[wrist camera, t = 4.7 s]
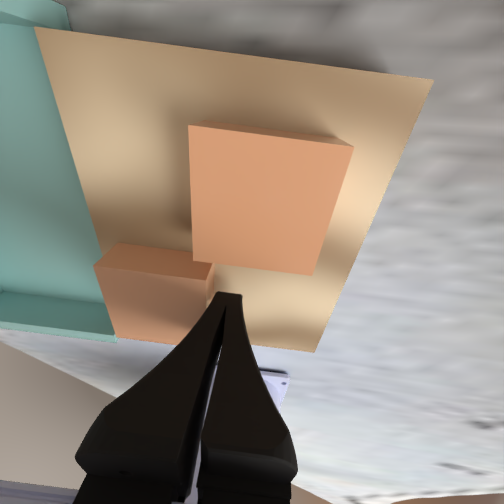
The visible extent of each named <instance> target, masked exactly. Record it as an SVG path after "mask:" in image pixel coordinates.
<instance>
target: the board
mask: <svg viewBox="0 0 504 504" xmlns="http://www.w3.org/2000/svg"><path fill="white" fill-rule="evenodd" d="M34 29H35V33H36V36H37V39H38V43H39V46H40V49H41V53H42V56H43V59H44V63H45V66H46V69H47V73H48V76H49V79H50V83H51V86H52V89H53V93H54V96H55V99H56V103H57V106H58V109H59V113H60V116H61V119H62V123H63V126H64V129H65V133H66V136H67V139H68V143H69V146H70V149H71V153H72V156H73V159H74V163H75V166H76V169H77V173H78V176H79V179H80V183H81V186H82V189H83V193H84V196H85V199H86V203H87V206H88V209H89V213H90V216H91V219H92V223H93V226H94V229H95V233H96V236H97V239H98V242H99V246H100V249H101V252H102V256H104V255H105V254H106V253H107V252H108V251H109V250H110V249H111V248H112V247H114V246H115V245H116V244H117V243H126V244H133V245H141V246H148V247H156V248H164V249H171V250H179V251H186V252H193V242H192V215H191V188H190V161H189V134H188V125H190V124H193V123H196V122H200V121H203V120H207V121H215V122H222V123H230V124H237V125H245V126H252V127H260V128H268V129H275V130H283V131H290V132H298V133H305V134H313V135H320V136H328V137H336V138H339V139H341V140H343V141H345V142H347V143H348V144H350V145H352V146H354V150H353V153H352V156H351V159H350V163H349V166H348V169H347V172H346V175H345V178H344V181H343V184H342V187H341V190H340V193H339V196H338V199H337V202H336V205H335V208H334V211H333V214H332V217H331V220H330V223H329V226H328V229H327V232H326V235H325V239H324V242H323V245H322V248H321V251H320V254H319V257H318V260H317V263H316V266H315V269H314V272H313V275H312V276H308V275H300V274H293V273H285V272H277V271H269V270H262V269H254V268H246V267H238V266H231V265H223V264H215V275H214V295H215V293H216V292H218V291H220V292H228V293H235V294H241V295H242V296H243V298H242V304H243V314H244V320H245V325H246V329H247V333H248V337H249V341H250V344H251V345H258V346H266V347H274V348H282V349H290V350H298V351H305V352H313V353H314V352H315V350H316V348H317V345H318V343H319V341H320V339H321V336H322V334H323V332H324V330H325V327H326V325H327V323H328V320H329V318H330V316H331V314H332V311H333V309H334V307H335V305H336V302H337V300H338V298H339V295H340V293H341V291H342V289H343V286H344V284H345V282H346V280H347V277H348V275H349V273H350V270H351V268H352V266H353V264H354V261H355V259H356V257H357V255H358V252H359V250H360V248H361V245H362V243H363V241H364V239H365V236H366V234H367V232H368V230H369V227H370V225H371V223H372V220H373V218H374V216H375V214H376V211H377V209H378V207H379V205H380V202H381V200H382V198H383V195H384V193H385V191H386V189H387V186H388V184H389V182H390V179H391V177H392V175H393V173H394V170H395V168H396V166H397V164H398V161H399V159H400V157H401V154H402V152H403V150H404V148H405V145H406V143H407V141H408V139H409V136H410V134H411V132H412V129H413V127H414V125H415V123H416V120H417V118H418V116H419V114H420V111H421V109H422V107H423V104H424V102H425V100H426V98H427V95H428V93H429V91H430V89H431V86H432V84H433V82H434V80H430V79H423V78H415V77H408V76H400V75H393V74H386V73H378V72H371V71H363V70H356V69H348V68H341V67H333V66H326V65H318V64H311V63H303V62H296V61H289V60H281V59H274V58H266V57H259V56H251V55H244V54H236V53H229V52H221V51H214V50H206V49H199V48H192V47H184V46H177V45H169V44H162V43H154V42H147V41H139V40H132V39H124V38H117V37H109V36H102V35H95V34H87V33H80V32H72V31H65V30H57V29H50V28H42V27H35V26H34Z"/></svg>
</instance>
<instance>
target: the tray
mask: <svg viewBox="0 0 504 504" xmlns="http://www.w3.org/2000/svg"><path fill="white" fill-rule="evenodd" d="M34 26H35V27H42V28H50V29H57V30H65V31H71V29H70V24H69V20H68V16H67V12H66V7H65V6H63V5H61V4H59V3H56V2H54V1H52V0H0V328H2V329H10V330H18V331H26V332H34V333H41V334H49V335H57V336H65V337H73V338H81V339H89V340H97V341H104V342H112V343H116V342H117V341H118V339H119V338H118V337H116V334H115V331H114V328H113V325H112V322H111V319H110V316H109V313H108V310H107V307H106V304H105V301H104V298H103V295H102V292H101V289H100V286H99V283H98V280H97V277H96V274H95V271H94V268H93V265H94V264H95V263H96V262H97V261H98V260H100V259H101V258H102V257H103V256H102V252H101V249H100V246H99V242H98V239H97V236H96V233H95V229H94V226H93V223H92V219H91V216H90V213H89V209H88V206H87V203H86V199H85V196H84V193H83V189H82V186H81V183H80V179H79V176H78V173H77V169H76V166H75V163H74V159H73V156H72V153H71V149H70V146H69V143H68V139H67V136H66V133H65V129H64V126H63V123H62V119H61V116H60V113H59V109H58V106H57V103H56V99H55V96H54V93H53V89H52V86H51V83H50V79H49V76H48V73H47V69H46V66H45V63H44V59H43V56H42V53H41V49H40V46H39V43H38V39H37V36H36V33H35V29H34Z"/></svg>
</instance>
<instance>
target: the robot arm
mask: <svg viewBox="0 0 504 504" xmlns="http://www.w3.org/2000/svg"><path fill="white" fill-rule="evenodd" d="M242 298H243V296H242V295H241V294H235V293H228V292H220V291H218V292H216V293H215V295H214V297H213V299H212V301H211V302H210V304H209V306H208V307H207V309H206V310H205V312H204V313H203V314H202V316H201V317H200V319H199V320H198V321H197V323H196V324H195V325H194V326H193V328H192V329H191V330H190V331H189V333H188V334H187V335H186V336H185V337H184V338H183V340H182V341H181V342H180V343H179V344H178V345H177V346H176V347H175V348H174V349H173V350H172V351H171V352H170V353H169V354H168V355H167V356H166V357H165V358H164V359H163V360H162V361H161V362H160V363H159V364H158V365H157V366H156V367H155V368H154V369H152V370H151V371H150V372H149V373H148V374H147V375H145V376H144V377H143V378H142V379H141V380H139V381H138V382H137V383H136V384H135V385H133V386H132V387H131V388H130V389H128V390H127V391H126V392H124V393H123V394H122V395H120V396H119V397H118V398H116V399H115V400H114V401H113V402H111V403H110V404H109V405H107V406H106V407H105V408H104V409H103V410H102V411H101V413H100V414H99V416H98V417H97V419H96V420H95V421H94V423H93V424H92V426H91V427H90V429H89V431H88V432H87V434H86V436H85V438H84V440H83V441H82V443H81V445H80V447H79V449H78V451H77V452H76V455H75V459H76V462H77V463H78V464H79V465H80V466H81V468H82V469H83V470H84V471H85V472H86V473H87V475H86V477H85V479H84V481H83V483H82V485H81V487H80V489H79V490H75V489H67V488H59V487H52V486H44V485H36V484H28V483H19V482H11V481H3V480H0V504H290V499H291V481H292V480H293V478H294V477H295V476H296V474H297V472H298V466H297V459H296V454H295V450H294V446H293V442H292V439H291V435H290V432H289V429H288V427H287V426H286V424H285V422H284V420H283V419H282V417H281V415H280V406H281V403H282V401H283V398H284V396H285V393H286V390H287V388H288V385H289V383H290V376H289V375H287V374H282V373H274V372H266V371H260V370H259V368H258V365H257V362H256V360H255V357H254V354H253V351H252V348H251V344H250V341H249V337H248V333H247V329H246V325H245V320H244V314H243V304H242ZM221 346H222V348H221ZM220 350H221V352H220ZM219 354H220V357H219ZM218 357H219V361H218ZM217 361H218V365H216V364H217ZM184 502H185V503H184Z"/></svg>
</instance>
